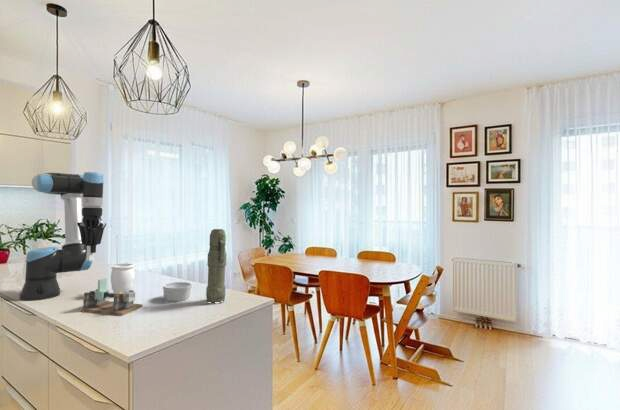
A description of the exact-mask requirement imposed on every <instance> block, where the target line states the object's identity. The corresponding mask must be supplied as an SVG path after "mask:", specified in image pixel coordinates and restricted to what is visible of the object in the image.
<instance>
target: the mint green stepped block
mask: <svg viewBox="0 0 620 410" xmlns="http://www.w3.org/2000/svg"><path fill="white" fill-rule="evenodd" d="M97 289H98V290H97ZM97 289H96V290H97V291H95V290H94V291H95V296H94V299H96V300H104V299H105V300H106V299H109V298H110V297H104V293H110V289H107V277H103V278H100V279H98V280H97Z"/></svg>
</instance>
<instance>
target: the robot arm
mask: <svg viewBox="0 0 620 410" xmlns="http://www.w3.org/2000/svg"><path fill="white" fill-rule="evenodd" d="M103 174H104V173H101V172H96V171H85V172H84V173H83V174H79V173H75V174H73V173H63V172H62V173H61V172H44V173H38V174H37V175H35V176H34V177H33V178H32V180H31V186H32V188H33V189H34V190H35V191H36V192H38V193H43V194H48V195H57V196H58V195H59V196H60V199H61V200H62V201H63V203H64V205H63V206H64V235H65V236H64V238H65V239H64V240H65V243H64V244H63V245H62V246H61V249H58V246H46V247H41V248H34V249H31V250H29V251H28V252H27V253H26V257H25V277H24V279H25V280H24V281H25V282H24V284H23V286H22V288H21V291H20V293H19V300H22V301H38V300H47V299H51V298H54V297H58V296H60V295H61V288H60V285H59V282H58V279H57V274H61V273H70V272H72V273H73V272H81V271H88V270H89V269H90V268H91V267H92V264H93V262H94V261H95V259H96V258H95V257H96V256H95V253H97V245H100V244H101V243H102V239H103V233H104V230H105V228H106V226H107V223H106V222H104V221H102V216H103V208H102V207H103V206H104V205H103V203H104V200H103V199H104V182H105V180H104V175H103Z"/></svg>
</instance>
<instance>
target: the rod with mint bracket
mask: <svg viewBox="0 0 620 410" xmlns="http://www.w3.org/2000/svg"><path fill="white" fill-rule="evenodd" d="M97 290H98V288H97V289H95V290H91V291H88V292H84V293H83V299H82V300H83V303H82V305H83V306H82V307H81V308H80V312H81V311H84V312H83V313H90V312H92V314H100V315H101V314H102V315H113V316H120V317H123V316H125V315H127V314H129V313H131V312H134V311H136V310H138V309H141V308H143V304H142V303H134V301H136V291H135V290H133V289H131V290H129V292H124V293H123V292H118V293H117V294H113V293H111V292H109V293H104V297H109V298H113V301H108V300H106V299H104V300H96V299H94V296H95V291H97Z"/></svg>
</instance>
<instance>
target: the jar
mask: <svg viewBox="0 0 620 410" xmlns="http://www.w3.org/2000/svg"><path fill="white" fill-rule="evenodd" d="M110 267H111V269H112V270H111V272H110V284H111V290H112V291H113V293H112V294H117V293H118V292H123V293H124V292H129V290H133V286H134V281H135V275H136V274H135V269H134V268H135V267H136V265H135V264H134V263H116V264H113V265H111V266H110Z"/></svg>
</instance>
